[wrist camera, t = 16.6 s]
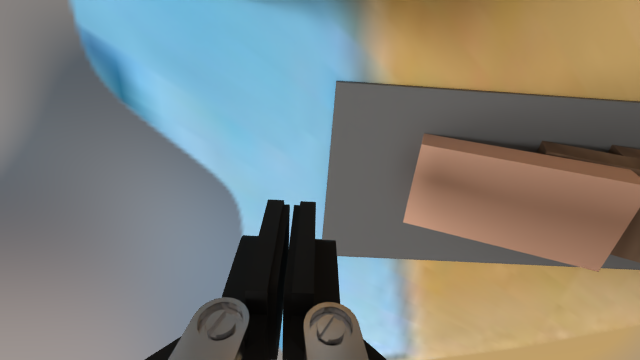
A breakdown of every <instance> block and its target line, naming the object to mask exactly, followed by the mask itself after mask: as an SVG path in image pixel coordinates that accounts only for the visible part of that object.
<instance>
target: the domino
mask: <svg viewBox="0 0 640 360" xmlns="http://www.w3.org/2000/svg"><path fill="white" fill-rule="evenodd" d="M639 208H640V177H639V176H638V175H637V174H636V173H634V172H633V171H632V170H630V169H624V168H618V167H613V166H607V165H601V164H596V163H590V162H584V161H579V160H573V159H567V158H561V157H556V156H550V155H544V154H539V153H533V152H527V151H522V150H516V149H510V148H505V147H499V146H493V145H487V144H482V143H476V142H470V141H465V140H459V139H453V138H448V137H442V136H436V135H430V134H425V133H424V135H423V140H422V144H421V148H420V152H419V156H418V160H417V165H416V169H415V173H414V177H413V181H412V186H411V190H410V194H409V198H408V202H407V207H406V211H405V216H404V220H403V222H404V223H408V224H412V225H416V226H420V227H424V228H428V229H432V230H435V231H439V232H443V233H447V234H451V235H455V236H459V237H463V238H467V239H471V240H475V241H479V242H483V243H487V244H491V245H495V246H499V247H503V248H507V249H511V250H515V251H519V252H523V253H527V254H531V255H534V256H538V257H542V258H546V259H550V260H554V261H558V262H562V263H566V264H570V265H574V266H578V267H582V268H586V269H590V270H594V271H598V272H599V270H600V269H601V267H602V265H603V264H604V262H605V261H606V259H607V258H608V256H609V255H610V253H611V251H612V250H613V248H614V247H615V245H616V244H617V242H618V241H619V239H620V238H621V236H622V234H623V233H624V231H625V230H626V228H627V227H628V225H629V224H630V222H631V220H632V219H633V217H634V216H635V214H636V213H637V211H638V210H639Z"/></svg>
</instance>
